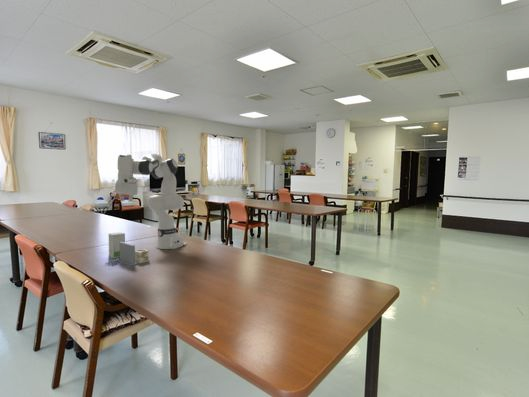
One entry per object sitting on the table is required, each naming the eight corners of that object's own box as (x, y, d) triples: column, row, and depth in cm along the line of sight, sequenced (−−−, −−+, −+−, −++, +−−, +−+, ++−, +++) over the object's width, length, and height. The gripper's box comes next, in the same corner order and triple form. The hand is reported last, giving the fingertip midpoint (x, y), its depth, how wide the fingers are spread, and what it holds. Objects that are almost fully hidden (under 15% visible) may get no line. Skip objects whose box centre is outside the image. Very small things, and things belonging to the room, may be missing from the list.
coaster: (143, 258, 187) (143, 257, 187) (149, 260, 183) (149, 259, 183) (133, 261, 181) (133, 260, 181) (139, 263, 177) (139, 262, 177)
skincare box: (113, 258, 185) (112, 235, 184) (108, 256, 189) (107, 233, 187) (126, 256, 192) (125, 233, 190) (121, 254, 196) (120, 231, 194)
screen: (124, 259, 185) (124, 240, 183) (138, 263, 176) (137, 244, 175) (116, 261, 180) (116, 242, 179) (130, 266, 172) (130, 246, 171)
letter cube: (143, 258, 186) (142, 248, 185) (148, 259, 183) (148, 250, 182) (134, 260, 181) (134, 250, 181) (139, 262, 178) (139, 252, 177)
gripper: (112, 179, 187) (112, 200, 189) (129, 180, 176) (130, 202, 177) (121, 179, 192) (121, 199, 194) (139, 180, 181) (139, 201, 182)
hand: (126, 201), depth 185 cm, fingers open, 8 cm apart
